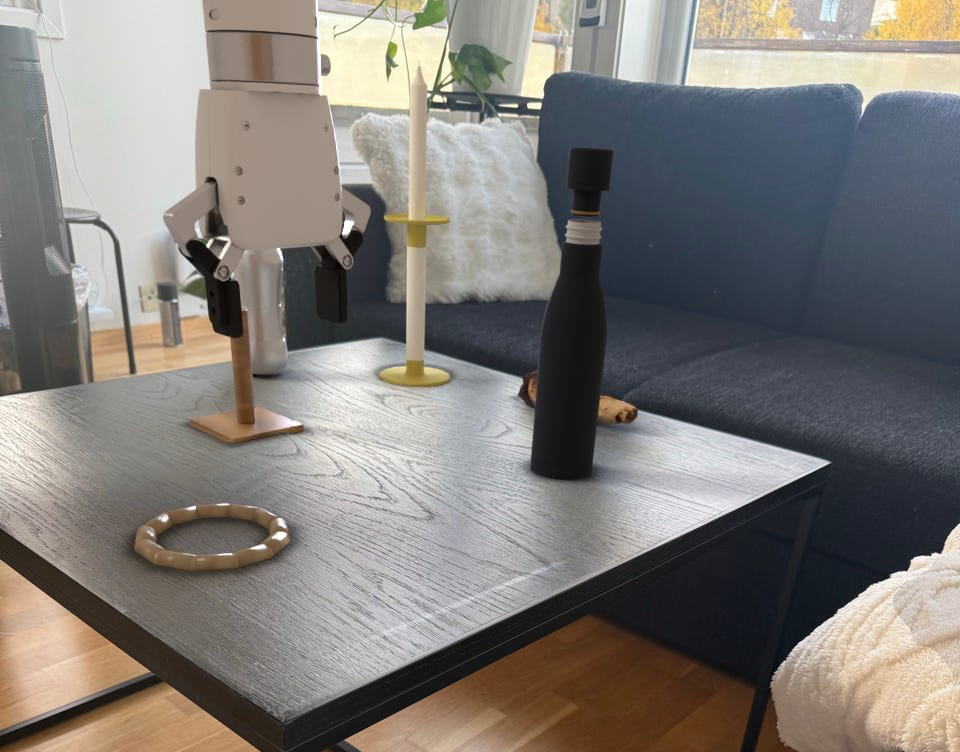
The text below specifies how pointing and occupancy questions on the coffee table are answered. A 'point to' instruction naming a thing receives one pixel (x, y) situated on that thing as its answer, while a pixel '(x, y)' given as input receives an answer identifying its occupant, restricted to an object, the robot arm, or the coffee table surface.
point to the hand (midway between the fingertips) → (282, 327)
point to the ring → (160, 556)
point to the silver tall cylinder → (263, 308)
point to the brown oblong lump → (608, 406)
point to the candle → (416, 249)
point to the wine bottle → (573, 333)
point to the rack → (244, 403)
